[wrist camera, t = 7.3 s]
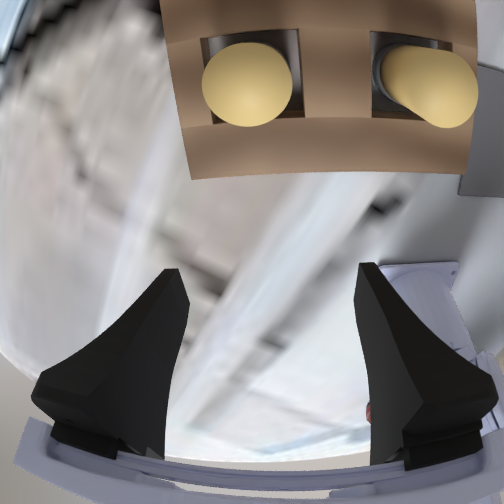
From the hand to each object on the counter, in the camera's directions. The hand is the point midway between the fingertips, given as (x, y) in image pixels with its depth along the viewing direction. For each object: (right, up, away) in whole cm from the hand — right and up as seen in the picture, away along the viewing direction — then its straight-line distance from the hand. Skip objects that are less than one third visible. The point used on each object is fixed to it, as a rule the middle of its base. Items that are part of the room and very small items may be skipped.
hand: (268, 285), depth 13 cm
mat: (+19, +10, +4) cm, 22 cm away
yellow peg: (+8, +12, +3) cm, 15 cm away
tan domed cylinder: (0, +12, +4) cm, 13 cm away
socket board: (+4, +12, +3) cm, 13 cm away
